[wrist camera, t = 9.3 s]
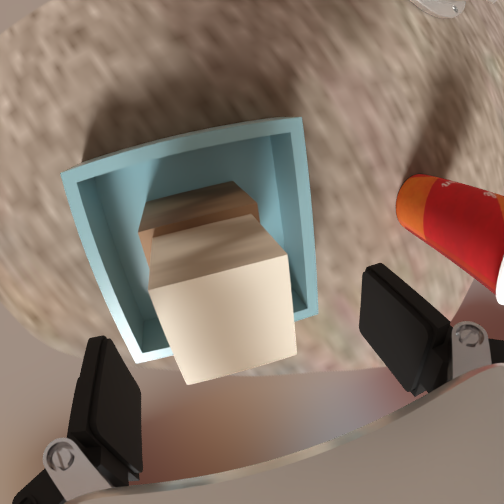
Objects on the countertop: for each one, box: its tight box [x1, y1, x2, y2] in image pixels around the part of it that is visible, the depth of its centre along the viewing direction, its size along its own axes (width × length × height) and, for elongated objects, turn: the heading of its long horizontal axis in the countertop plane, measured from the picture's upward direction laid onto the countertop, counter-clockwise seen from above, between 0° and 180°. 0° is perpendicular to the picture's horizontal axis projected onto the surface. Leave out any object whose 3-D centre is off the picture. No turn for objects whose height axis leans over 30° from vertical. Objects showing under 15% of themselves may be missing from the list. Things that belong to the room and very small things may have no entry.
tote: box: [60, 117, 318, 363], centre depth 20 cm, size 14×14×4 cm
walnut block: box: [138, 181, 260, 269], centre depth 19 cm, size 6×6×6 cm
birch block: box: [148, 214, 297, 385], centre depth 14 cm, size 5×5×5 cm
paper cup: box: [396, 174, 504, 305], centre depth 20 cm, size 8×8×14 cm
